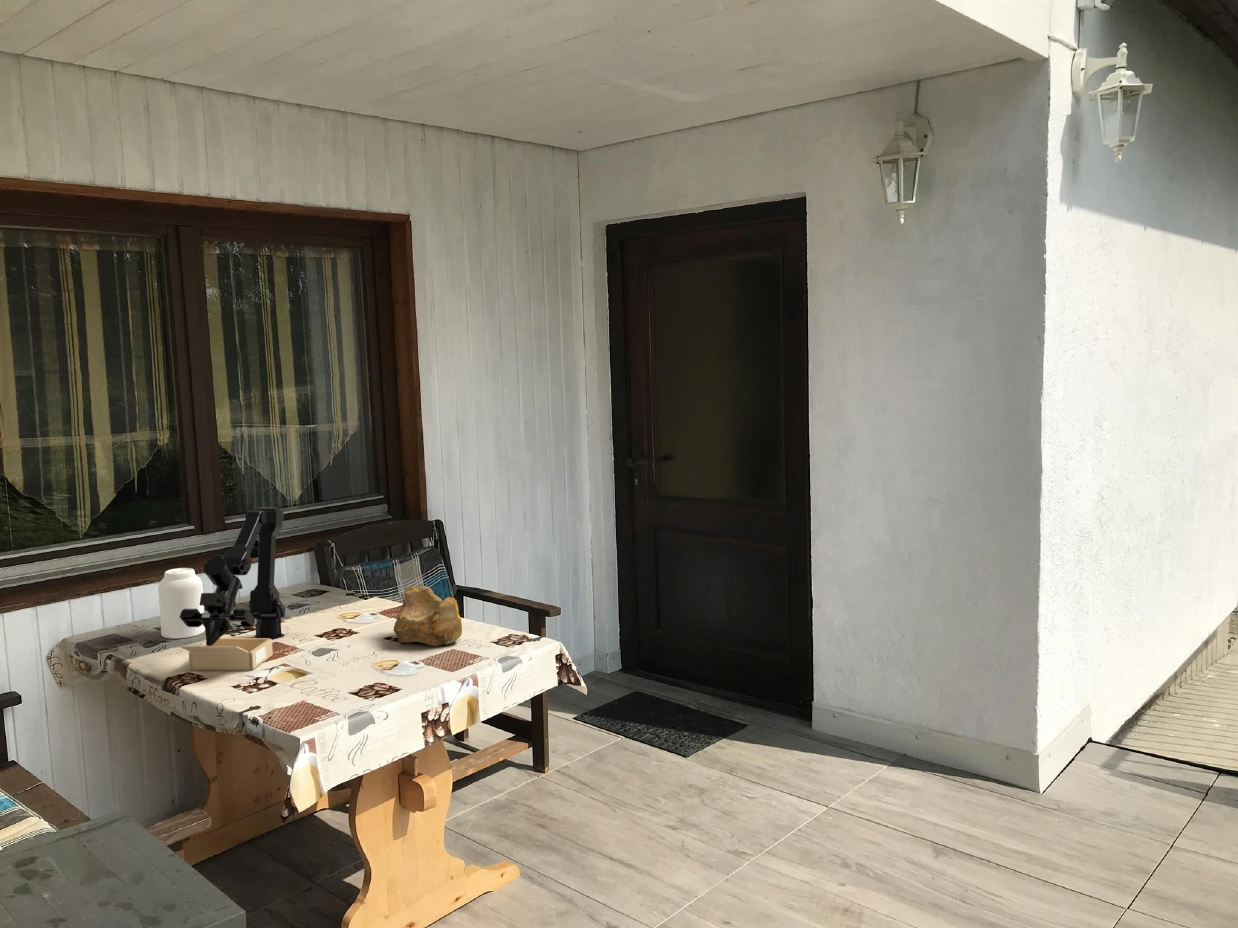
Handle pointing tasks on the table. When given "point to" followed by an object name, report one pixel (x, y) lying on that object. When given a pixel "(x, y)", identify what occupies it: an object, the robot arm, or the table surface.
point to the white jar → (179, 602)
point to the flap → (213, 649)
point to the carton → (233, 655)
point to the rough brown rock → (427, 618)
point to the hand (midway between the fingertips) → (208, 646)
